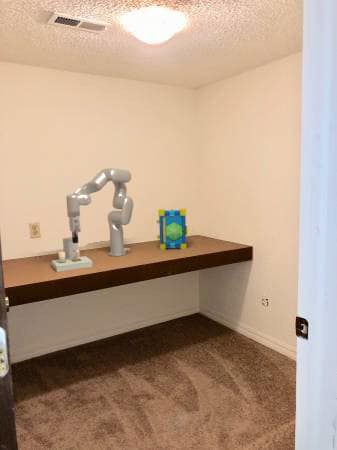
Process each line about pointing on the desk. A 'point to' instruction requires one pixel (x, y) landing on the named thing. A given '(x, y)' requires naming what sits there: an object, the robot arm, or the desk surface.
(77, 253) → the peg
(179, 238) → the decorative book
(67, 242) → the skincare box
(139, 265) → the desk surface
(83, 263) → the board
